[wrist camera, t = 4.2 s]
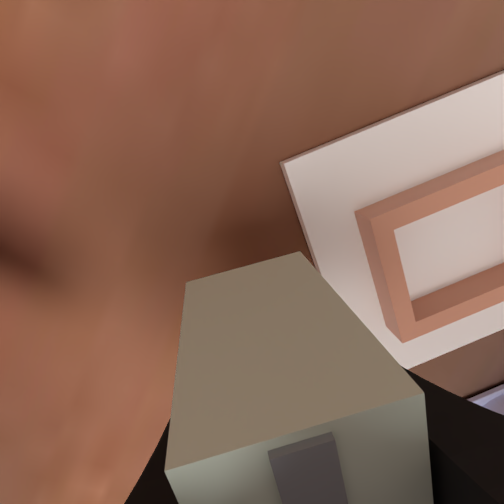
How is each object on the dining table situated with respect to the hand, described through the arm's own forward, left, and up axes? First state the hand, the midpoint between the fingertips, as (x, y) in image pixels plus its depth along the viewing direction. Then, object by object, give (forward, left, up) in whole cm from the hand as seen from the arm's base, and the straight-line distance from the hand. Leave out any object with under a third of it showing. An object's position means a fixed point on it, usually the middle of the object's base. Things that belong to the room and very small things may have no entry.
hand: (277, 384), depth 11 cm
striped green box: (0, 0, -2) cm, 2 cm away
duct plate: (-3, -11, -9) cm, 15 cm away
